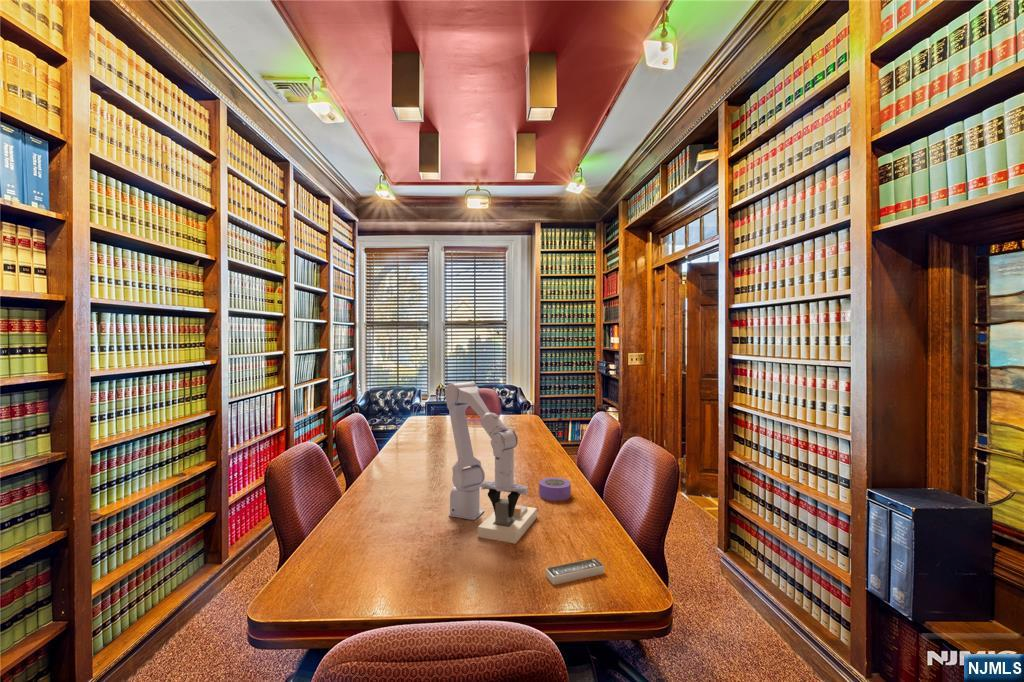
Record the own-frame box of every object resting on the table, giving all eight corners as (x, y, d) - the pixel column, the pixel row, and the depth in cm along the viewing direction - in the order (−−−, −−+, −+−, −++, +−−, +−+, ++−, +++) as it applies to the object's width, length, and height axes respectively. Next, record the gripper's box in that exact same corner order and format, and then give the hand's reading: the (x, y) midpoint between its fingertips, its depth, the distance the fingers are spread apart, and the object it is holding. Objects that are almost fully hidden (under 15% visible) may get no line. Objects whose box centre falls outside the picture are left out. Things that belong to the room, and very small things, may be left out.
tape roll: (577, 497, 167) (577, 483, 167) (552, 503, 160) (552, 489, 160) (556, 488, 176) (556, 475, 176) (532, 494, 170) (532, 480, 170)
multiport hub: (545, 577, 112) (545, 568, 112) (595, 566, 117) (595, 557, 117) (553, 586, 108) (553, 576, 108) (604, 574, 113) (604, 565, 113)
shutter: (499, 514, 142) (499, 506, 142) (507, 506, 149) (507, 498, 149) (520, 517, 140) (520, 509, 140) (527, 509, 146) (527, 501, 146)
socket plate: (477, 536, 133) (477, 526, 133) (503, 512, 152) (503, 503, 152) (515, 543, 129) (515, 533, 129) (536, 517, 148) (537, 508, 148)
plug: (495, 526, 135) (495, 502, 135) (500, 520, 139) (500, 498, 139) (507, 528, 134) (507, 504, 134) (512, 523, 138) (512, 500, 138)
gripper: (477, 471, 135) (477, 516, 136) (522, 477, 130) (522, 523, 130) (486, 465, 142) (486, 508, 142) (530, 470, 137) (530, 514, 137)
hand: (504, 515), depth 137 cm, fingers closed on plug, 4 cm apart
